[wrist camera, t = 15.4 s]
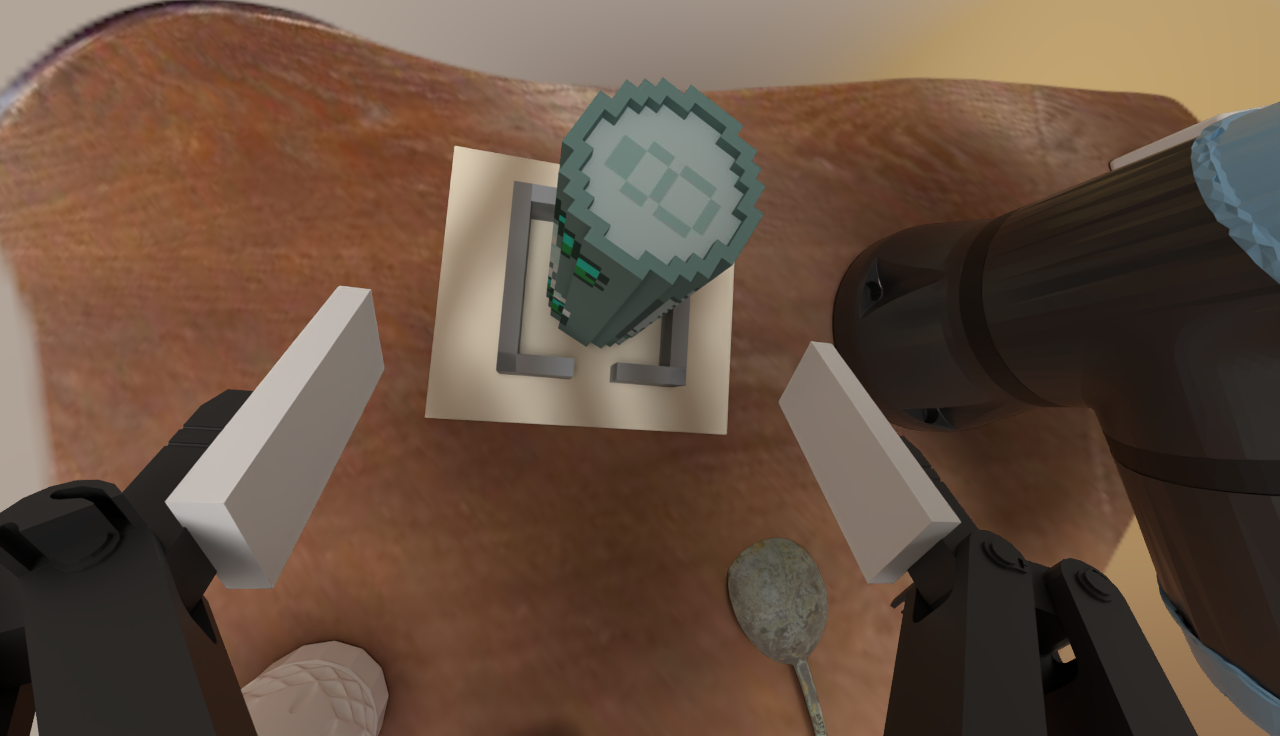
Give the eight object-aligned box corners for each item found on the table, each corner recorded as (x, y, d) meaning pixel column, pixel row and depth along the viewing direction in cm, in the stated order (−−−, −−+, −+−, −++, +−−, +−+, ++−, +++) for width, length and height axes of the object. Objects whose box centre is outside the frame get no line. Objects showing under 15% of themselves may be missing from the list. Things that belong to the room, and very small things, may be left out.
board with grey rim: (728, 205, 32) (754, 177, 28) (717, 433, 31) (744, 437, 27) (458, 159, 28) (446, 119, 25) (430, 417, 27) (412, 418, 23)
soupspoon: (793, 518, 33) (708, 547, 32) (819, 530, 29) (725, 562, 28) (882, 835, 31) (797, 878, 30) (920, 884, 28) (826, 934, 27)
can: (584, 229, 28) (636, 41, 14) (664, 286, 29) (793, 165, 15) (528, 309, 27) (521, 195, 13) (614, 365, 28) (699, 319, 13)
